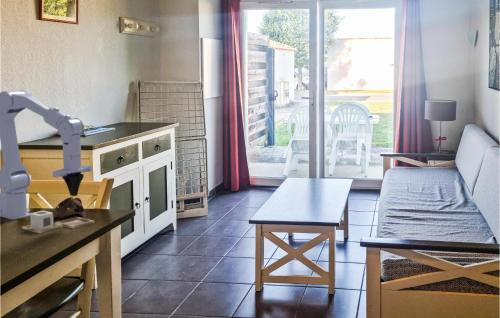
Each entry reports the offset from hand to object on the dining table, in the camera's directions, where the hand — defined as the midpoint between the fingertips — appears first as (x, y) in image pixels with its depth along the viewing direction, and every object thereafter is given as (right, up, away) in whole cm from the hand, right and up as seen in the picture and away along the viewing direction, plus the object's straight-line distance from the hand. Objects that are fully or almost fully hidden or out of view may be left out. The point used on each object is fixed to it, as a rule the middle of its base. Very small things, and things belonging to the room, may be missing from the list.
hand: (73, 195), depth 209 cm
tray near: (-9, -11, -4) cm, 15 cm away
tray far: (0, -10, +2) cm, 10 cm away
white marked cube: (-9, -10, -4) cm, 14 cm away
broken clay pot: (-3, -9, +12) cm, 15 cm away
